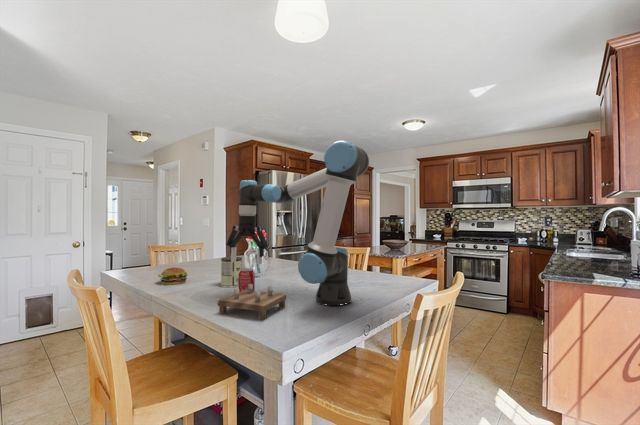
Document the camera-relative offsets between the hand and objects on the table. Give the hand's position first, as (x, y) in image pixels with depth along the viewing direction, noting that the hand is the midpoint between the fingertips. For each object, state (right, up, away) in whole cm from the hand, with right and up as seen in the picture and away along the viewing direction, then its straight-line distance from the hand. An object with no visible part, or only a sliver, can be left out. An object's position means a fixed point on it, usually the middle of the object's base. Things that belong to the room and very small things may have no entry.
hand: (246, 263), depth 137 cm
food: (-45, -15, +26) cm, 55 cm away
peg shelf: (+8, -15, -20) cm, 26 cm away
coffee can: (-13, -15, +22) cm, 29 cm away
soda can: (0, -15, 0) cm, 15 cm away
